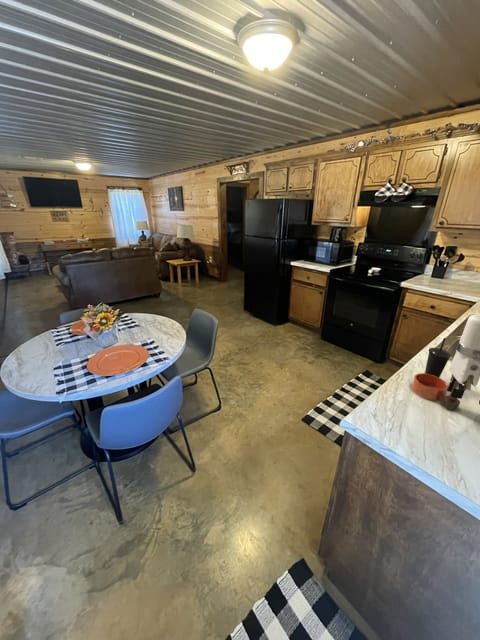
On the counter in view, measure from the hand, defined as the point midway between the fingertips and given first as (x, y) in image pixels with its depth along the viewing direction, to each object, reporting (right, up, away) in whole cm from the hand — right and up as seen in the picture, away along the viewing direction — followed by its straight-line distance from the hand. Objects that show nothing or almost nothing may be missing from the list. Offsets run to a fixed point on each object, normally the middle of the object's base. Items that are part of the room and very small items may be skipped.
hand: (454, 394), depth 95 cm
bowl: (-2, -2, +10) cm, 11 cm away
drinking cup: (+4, +1, +18) cm, 18 cm away
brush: (0, -5, +2) cm, 6 cm away
